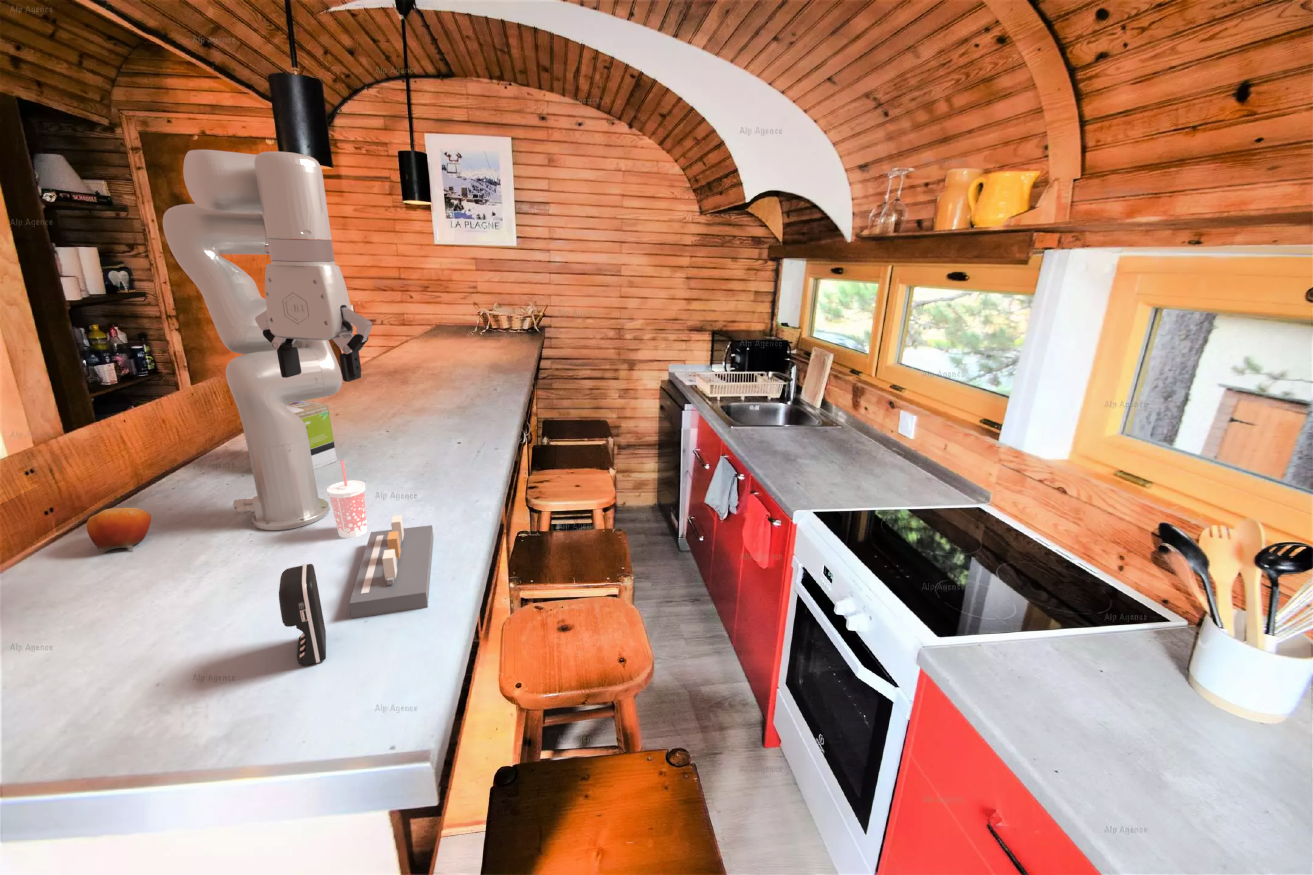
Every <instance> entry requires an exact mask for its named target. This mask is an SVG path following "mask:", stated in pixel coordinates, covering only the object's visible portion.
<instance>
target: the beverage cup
mask: <svg viewBox="0 0 1313 875" xmlns="http://www.w3.org/2000/svg"><path fill="white" fill-rule="evenodd" d="M340 465H341V472H342V479H343V481H339V482H336V483H333V484H331V485H329V486H328V487H327V488H326V494H327V496H329V499H330V502H331V504H330V505H331V508H332V512H333V516H334V521H335V523H336V524H335V525H336V528H337V532H338V536H339V537H340V538H343V539H353V538H358V537H360V536H363V535H364V534H366V533H367V531H368V527H367V515H366V500H365V499H366V498H365V491H366V483H365V482H364V481H361V480H347V474H346V473H347V472H346V466H345V461H344V459H341V460H340Z"/></svg>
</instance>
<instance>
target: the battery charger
mask: <svg viewBox="0 0 1313 875" xmlns="http://www.w3.org/2000/svg"><path fill="white" fill-rule="evenodd" d="M278 588H279V589H278V602H279V609H280V615H281V622H282V624H284V626H285V627H287V628H288V627H296V629H297V630H299V631H300V632H301V633H302V634H301V635H300V636H299V637H298V639H297V648H296V649H297V653H296V660H297V663H298V665H300V666H306V665H307V666H308V665H312V664H315V663H316V664H318V663H321V662H323V661H325V660H326V658H327V636H326V635H327V634H326V633H327V631H326V627H325V621H324V615H323V609H322V605H321V604H322V603H321V597H320V592H319V587H318V581H317V576H316V570H315V566H314V564H312V563H304V564H302V565H298V566H293V567H289V568H286V569H285V570H283V571H282V573H281V575H280V580H279V586H278Z"/></svg>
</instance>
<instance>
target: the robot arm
mask: <svg viewBox="0 0 1313 875" xmlns="http://www.w3.org/2000/svg"><path fill="white" fill-rule="evenodd" d="M182 170H183V174H182V175H183V180H184V184H185V187H186V190H187V193H188V195H189V196H190V198H191V199H192V202H194V203H185V204H179V205H174V206H173V207H169V208H168V209H167V210H166V211H165V212H164V213H163V218H162V228H163V229H162V230H163V233H164V236H165V239H166V242H167V245H168V247H169V249H170V251H171V254H172V255H173V257H174V258H175V260H176V262H177V263H178V265H179V267H181V269H182V270H183V271H184V272H185V274H186V275H187V276H188V277H189V279H190V280H191V281H192V282H193V283H194V285H195V286H196V288H197V289H198V290H199V292H200V293H201V295H202V298H203V300H204V303H205V305H206V308H207V310H208V313H209V315H210V317H211V320H212V322H213V325H214V328H215V330H216V332H217V334H218V337H219V338H220V341H221V342H222V344H223V345H224V346H225V348H226V349H228V351H231V352H232V353H235V354H239V355H238V356H236V357H234V358H232V359H231V360H230V361H229V362H228V363H227V365H226V368H225V377H226V382H227V385H228V387H229V390H230V393H231V395H232V398H233V400H234V403H235V406H236V407H237V411H238V413H239V418H240V422H241V425H242V429H243V433H244V439H245V443H246V447H247V452H248V455H249V461H250V467H251V471H252V476H253V481H254V486H255V490H256V495H257V496H253V498H248V499H247V498H241V499H233V504H232V506H233V509H234V510H235V511H236V512H237V514H246V513H252V516H251V523H252V524H253V526H254V527H255V528H258V529H259V530H265V531H284V530H289V529H290V530H291V529H296V528H300V527H304V526H307V525H311V524H312V523H315V522H317V521H319V520H321V519H322V518H324V517H325V516H326V515H327V514H329V511H330V503H329V502H328V501H327V500H325V499H323V498H319V493H318V488H317V481H316V476H315V470H314V469H313V463H312V457H311V451H310V445H309V439H308V434H307V429H306V426H305V423H304V422H303V420H302V419H301V418H300V417H298V416H297V415H296V414H294V413H293V412H291V411H290V410H289V409H287V407H286V405H287V404H289V403H293V402H297V401H303V400H307V401H311V400H317V399H321V398H326V397H331V396H333V395H335V394H337V393H338V392H339V391H340V390H341V388H342V386H343V381H344V382H346V383H347V382H352V381H355V380H359V379H361V378H362V366H361V359H360V352H362V350H363V348H364V345H365V344H366V343H367V342H368V340H369V335H370V334H371V332H372V330H371V329H372V327H373V322H372V321H371V320H369V318H368V319H367V318H366V317H365V316H363V315H360V314H359V313H357V312H355V311H354V310H352V306H351V302H350V297H349V294H348V289H347V286H346V282H345V278H344V276H343V273H342V270H341V268H340V267H341V266H340V265H338V264H337V265H336V261H335V253H334V245H333V241H332V234H331V233H332V232H331V227H330V226H331V224H330V219H329V212H328V204H327V203H328V202H327V195H326V190H325V184H324V183H325V182H324V175H323V169H322V166H321V165H320V163H319V161H318V160H317V159H316V158H314V157H312V156H310V155H306V154H304V153H303V154H301V153H297V152H290V151H289V152H288V151H277V150H276V151H272V150H271V151H263V152H262V151H261V152H259V153H258V154H253V153H252V154H251V153H244V152H243V153H242V152H235V151H225V150H224V151H223V150H216V149H191V150H188V151H187V152H186V154H185V156H184V160H183V169H182ZM221 255H256V256H257V255H261V256H262V255H269V257H270V262H271V263H267V264H265V265H266V266H265V273H264V274H265V277H264V294H265V297H262V295H261V293H260V291H259V288H258V286H257V284H256V281H255V280H254V279H253V277H251V276H250V275H249V273H247V272H246V271H245V270H243V269H242V268H241V267H240V266H238V265H236V264H235V263H234V262H231V261H230V260H228V259H227V258H225V257H223V256H221ZM354 326H355V328H356V329H355V330H356V331H355V332H356V333H355V334H353V333H354ZM330 340H332V341H333V342H334V343H335V344H336V345H337V347H338V348H339V350H341V351H342V353H339V361H338V359H337V357H336V354H335V353H334V350H333V348H332V345H331V343H330ZM240 354H241V355H240ZM339 363H340V364H339Z"/></svg>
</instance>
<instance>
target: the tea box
mask: <svg viewBox="0 0 1313 875" xmlns="http://www.w3.org/2000/svg"><path fill="white" fill-rule="evenodd" d="M286 407H287V409H289V410H290V411H291V412H293V413H294V414H296V415H297V416H298V417H300V418H301V419H302V420H303V422H304V423H305V426H306V429H307V434H308V439H309V445H310V451H311V457H312V463H313V469H314V471H315V470H317V469H320V468H324V467H326V466H328V465H331V464H333V463H336V462H337V461H338V459H337V452H336V447H335V439H334V433H333V427H332V421H331V416H330V415H331V414H330V413H331V412H330V409H329V404H328V403H322V402H317V401H312V400H303V401H297V402H293V403H289V404H287V405H286Z"/></svg>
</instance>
